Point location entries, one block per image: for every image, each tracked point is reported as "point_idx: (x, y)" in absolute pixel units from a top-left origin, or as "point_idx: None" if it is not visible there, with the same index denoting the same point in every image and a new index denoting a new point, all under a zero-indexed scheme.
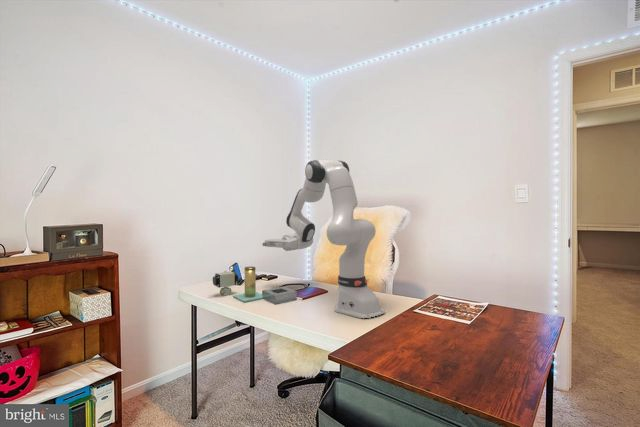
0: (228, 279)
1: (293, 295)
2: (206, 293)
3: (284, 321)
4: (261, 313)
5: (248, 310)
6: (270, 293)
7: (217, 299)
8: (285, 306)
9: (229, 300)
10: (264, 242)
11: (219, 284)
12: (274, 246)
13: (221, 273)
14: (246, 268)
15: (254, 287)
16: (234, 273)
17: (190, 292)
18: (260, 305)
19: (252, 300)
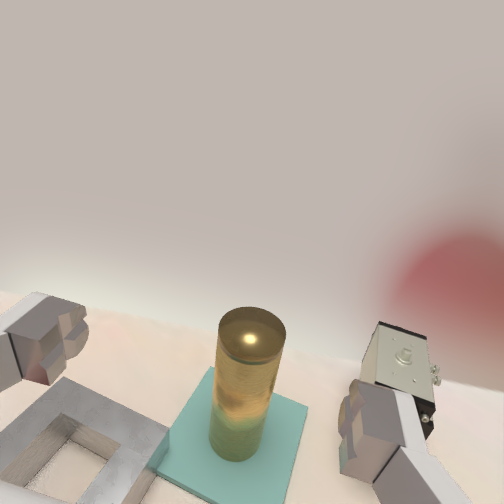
0: (367, 374)
1: None
2: (442, 408)
3: (3, 294)
4: (95, 317)
5: (149, 323)
6: (99, 397)
7: (327, 366)
8: (11, 399)
9: (281, 373)
10: (416, 430)
11: (365, 354)
12: (86, 336)
13: (409, 347)
14: (251, 307)
15: (211, 405)
16: (374, 381)
17: (495, 392)
18: (131, 371)
19: (191, 398)
